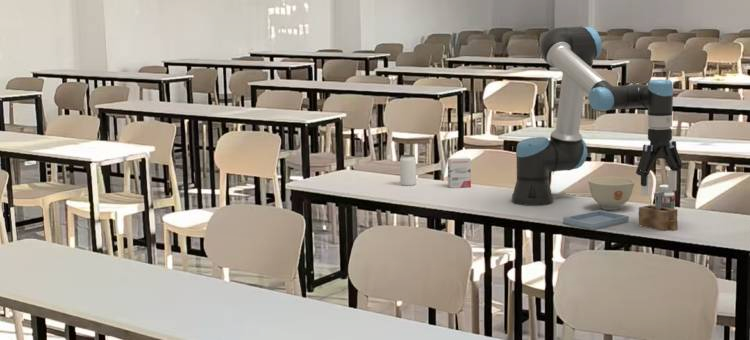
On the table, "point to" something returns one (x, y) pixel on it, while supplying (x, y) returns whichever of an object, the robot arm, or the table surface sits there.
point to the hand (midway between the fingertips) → (658, 193)
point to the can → (407, 170)
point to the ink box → (459, 172)
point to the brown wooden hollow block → (658, 217)
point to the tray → (596, 220)
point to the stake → (658, 200)
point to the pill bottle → (667, 197)
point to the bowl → (611, 191)
